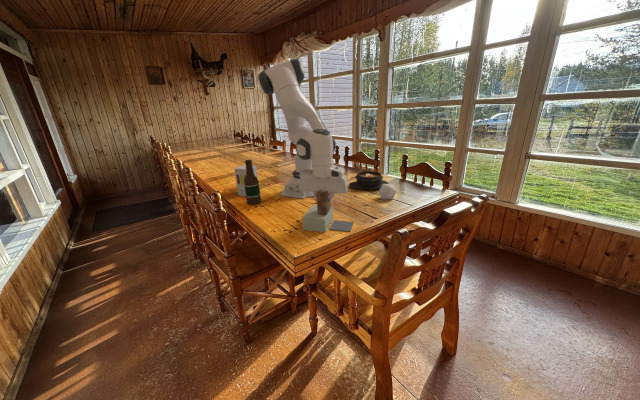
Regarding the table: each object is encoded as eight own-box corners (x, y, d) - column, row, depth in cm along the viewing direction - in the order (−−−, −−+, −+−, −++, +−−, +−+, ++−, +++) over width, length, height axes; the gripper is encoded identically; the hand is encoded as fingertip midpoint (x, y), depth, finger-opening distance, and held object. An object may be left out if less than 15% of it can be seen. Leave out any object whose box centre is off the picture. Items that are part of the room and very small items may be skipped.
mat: (329, 229, 110) (329, 229, 109) (334, 220, 118) (334, 220, 117) (350, 232, 107) (350, 231, 107) (353, 222, 115) (353, 221, 115)
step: (303, 229, 110) (302, 217, 108) (313, 216, 123) (312, 205, 121) (325, 232, 108) (325, 219, 105) (333, 218, 120) (333, 206, 118)
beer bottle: (248, 200, 146) (242, 159, 138) (262, 199, 147) (256, 158, 138) (245, 205, 139) (239, 162, 131) (260, 204, 140) (254, 161, 131)
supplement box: (237, 195, 155) (233, 168, 149) (247, 190, 163) (243, 164, 157) (250, 197, 152) (246, 169, 146) (259, 192, 160) (256, 165, 154)
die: (392, 203, 136) (401, 187, 136) (377, 195, 136) (386, 179, 136) (387, 203, 144) (396, 188, 144) (374, 195, 144) (382, 180, 144)
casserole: (353, 193, 151) (353, 179, 148) (345, 184, 169) (345, 171, 166) (393, 189, 155) (394, 176, 152) (381, 181, 172) (382, 168, 169)
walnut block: (317, 213, 110) (316, 191, 106) (322, 207, 116) (321, 185, 112) (326, 214, 109) (326, 191, 105) (330, 208, 115) (330, 186, 111)
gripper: (296, 171, 106) (298, 202, 111) (345, 173, 100) (345, 205, 105) (301, 167, 111) (303, 197, 116) (348, 169, 106) (348, 200, 111)
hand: (323, 201), depth 111 cm, fingers open, 4 cm apart
